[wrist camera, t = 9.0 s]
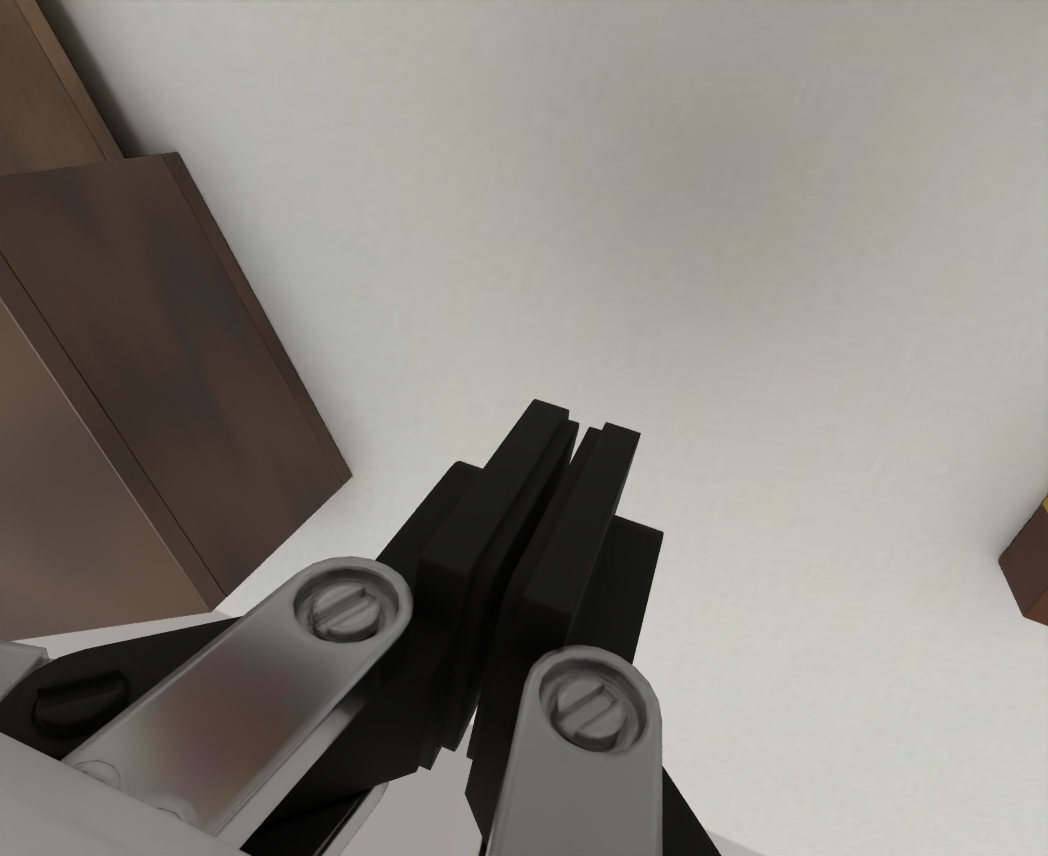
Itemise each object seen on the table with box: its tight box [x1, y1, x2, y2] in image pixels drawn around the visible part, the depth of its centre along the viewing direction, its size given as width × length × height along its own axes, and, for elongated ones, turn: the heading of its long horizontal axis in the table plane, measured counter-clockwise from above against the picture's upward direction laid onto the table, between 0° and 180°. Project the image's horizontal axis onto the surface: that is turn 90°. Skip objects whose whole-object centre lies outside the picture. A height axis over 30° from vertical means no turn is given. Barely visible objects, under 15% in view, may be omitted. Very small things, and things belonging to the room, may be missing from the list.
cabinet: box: [0, 152, 352, 641], centre depth 27 cm, size 15×14×9 cm
